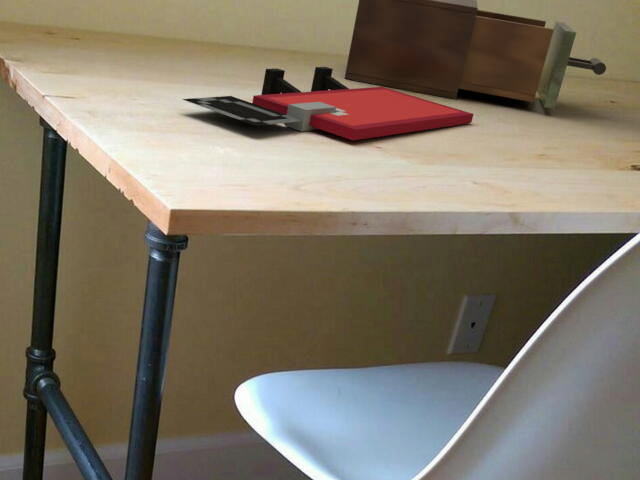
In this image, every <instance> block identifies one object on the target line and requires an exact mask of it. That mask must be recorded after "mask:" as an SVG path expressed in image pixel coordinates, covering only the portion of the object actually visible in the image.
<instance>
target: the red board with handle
mask: <svg viewBox="0 0 640 480" xmlns="http://www.w3.org/2000/svg"><path fill="white" fill-rule="evenodd" d="M333 69H334V68H331V67H328V66H315V68H314V73H313V78H312V83H311V87H310V88H311V89H310V91H301V90H300V89H299V88H297V87H295V86H294V85H292V84H291V83H290V82H289V81H287V80H285V79H284V78H285V72H286V70H284V69H280V68H277V67H276V68H265V71H264V78H263V82H262V83H263V84H262V88H261V93H260V94H257V95H256V94H255V95H253V96H252V102H250V101H247V100H244V99H242V98H238V97H235V96H233V95H224V96H223V95H222V96H208V97H196V98H194V97H193V98H182V99H181V100H182V101H185V102H188V103H191V104H193V105H196V106H199V107H202V108H204V109H208V110H211V111H214V112H216V113H218V114H222V115H224V116H228V117H230V118H233V119H236V120H238V121H241V122H244V123H247V124H250V125H252V126H256V127H258V126H259V127H261V126H269V125H277V124H284V126H285V127H287V128H291V129H294V130H296V131H299V132H306V131H307V132H308V131H315V130H320V131H324V132H327V133H330V134H333V135H335V136H339V137H342V138H344V139H347V140H351V141H357V140H366V139H373V138H379V137H385V136H391V135H392V136H393V135H399V134H405V133H412V132H418V131H426V130H432V129H439V128H440V129H441V128H446V127H452V126H453V127H454V126H460V125H464V124H465V125H466V124H472V122H473V118H474V113H472V112H468V111H466V110H462V109H458V108H456V107H455V108H454V107H453V106H452V107H451V106H449V105H446V104H442V103H438V102H436V101H432V100H428V99H425V98H421V97H418V96H414V95H412V94H408V93H404V92H401V91H398V90H394V89H390V88H389V87H385V86H372V87H359V88H349V87H347V86H346V85H344V84H343V83H342V82H340V81H339V80H337V79H336V78H334V77H333V76H332V75H333Z"/></svg>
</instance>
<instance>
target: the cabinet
mask: <svg viewBox="0 0 640 480" xmlns="http://www.w3.org/2000/svg"><path fill="white" fill-rule="evenodd" d="M477 10H479V7H478V0H358V4H357V9H356V15H355V19H354V20H355V21H354V26H353V31H352V36H351V42H350V47H349V52H348V57H347V62H346V68H345V73H344V79H345V78H348V79H347V80H349V79H353V80H352V81H354V80H358V81H357V82H360V81H363V82H362V83H365V82H367V83H366V84H370V83H372V84H371V85H376V84H377V85H376V86H381V85H383V86H382V87H387V86H388V87H387V88H393V89H397V90H403V89H404V91H408V90H409V91H408V92H414V93H419V94H424V95H430V96H434V97H435V96H436V97H441V98H446V99H452V100H456V99H457V97H458V92H459V90H460V89H459V85H460V80H461V76H462V72H463V68H464V64H465V60H466V56H467V51H468V47H469V43H470V39H471V35H472V31H473V27H474V22H475V18H476V14H477Z"/></svg>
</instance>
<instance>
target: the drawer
mask: <svg viewBox="0 0 640 480" xmlns="http://www.w3.org/2000/svg"><path fill="white" fill-rule="evenodd" d="M546 23H547V21H546V20H542V19H536V18H530V17H523V16H518V15H513V14H506V13H501V12H495V11H489V10H483V9H478V10H477V14H476V18H475V22H474V27H473V31H472V35H471V39H470V43H469V47H468V51H467V56H466V60H465V64H464V68H463V72H462V76H461V80H460V85H459V89H458V90H465V91H470V92H475V93H481V94H486V95H491V96H497V97H503V98H507V99H513V100H518V101H525V102H529V103H534V102H535V100H536V96H537V95H538V97H539V99H540V101H541V103H542V105H543V108H545V109H551V110H555V108H556V106H557V102H558V98H559V95H560V92H561V88H562V86H563V85H562V84H563V81H564V78H565V74H566V70H567V67H571V68H579V69H584V70H590V71H592V72H593V73H594V74H595V75H597V76H600V75H603V74H605V72H606V71H607V66H606V64H605V63H604V62H603V61H602V60H600V59H599V58H598V57H592V58H590V59H585V58H578V57H573V56H571V53H572V50H573V46H574V43H575V39H576V35H577V31H575V30H574V29H573V28H572V27H570V26H569V25H568V24H567V23H566V22H563V21H557V20H555V21H554V25H553V28H551V27H546Z"/></svg>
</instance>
